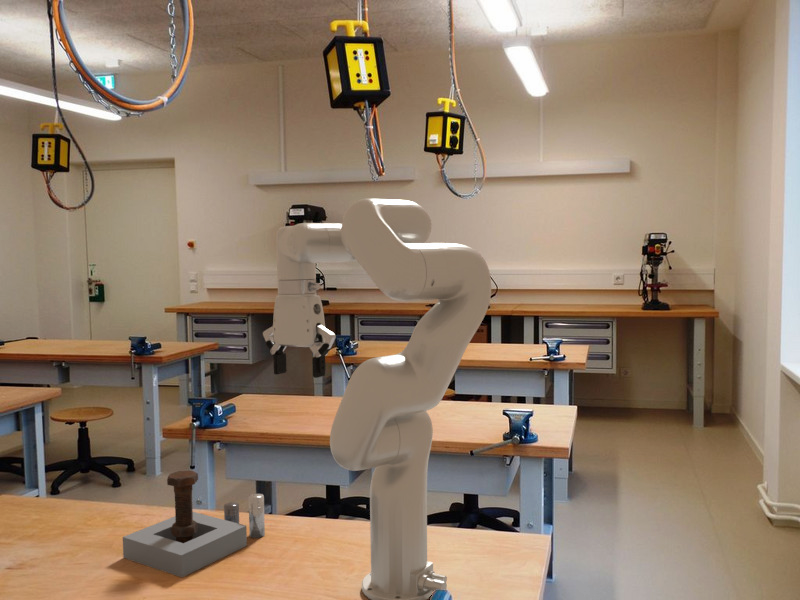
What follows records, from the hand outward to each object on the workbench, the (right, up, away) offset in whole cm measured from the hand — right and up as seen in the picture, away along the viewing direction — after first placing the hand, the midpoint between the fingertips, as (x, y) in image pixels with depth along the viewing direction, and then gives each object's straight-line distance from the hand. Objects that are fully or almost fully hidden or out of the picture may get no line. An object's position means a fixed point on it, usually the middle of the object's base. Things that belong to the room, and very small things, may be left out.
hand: (299, 375), depth 144 cm
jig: (-21, -33, -6) cm, 39 cm away
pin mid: (-9, -33, +2) cm, 34 cm away
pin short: (-15, -32, +6) cm, 36 cm away
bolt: (-21, -33, -5) cm, 40 cm away
